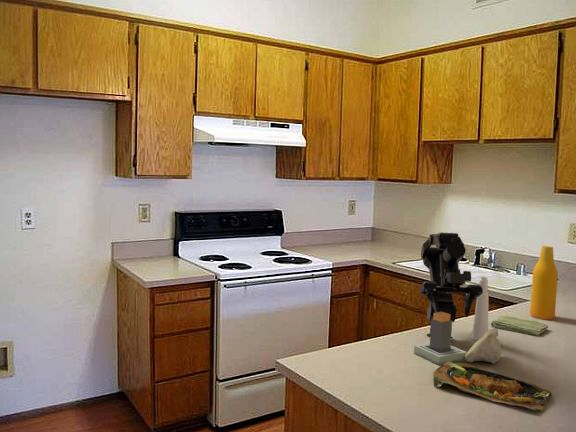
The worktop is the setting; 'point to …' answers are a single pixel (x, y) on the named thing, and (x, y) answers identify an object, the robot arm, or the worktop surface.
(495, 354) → the cheese
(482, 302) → the cosmetic bottle
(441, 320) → the plug
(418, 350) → the box
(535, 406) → the prepared meal
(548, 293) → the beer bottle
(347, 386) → the worktop surface
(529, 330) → the washcloth
